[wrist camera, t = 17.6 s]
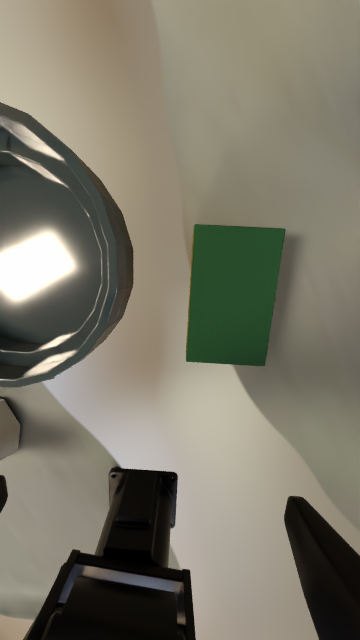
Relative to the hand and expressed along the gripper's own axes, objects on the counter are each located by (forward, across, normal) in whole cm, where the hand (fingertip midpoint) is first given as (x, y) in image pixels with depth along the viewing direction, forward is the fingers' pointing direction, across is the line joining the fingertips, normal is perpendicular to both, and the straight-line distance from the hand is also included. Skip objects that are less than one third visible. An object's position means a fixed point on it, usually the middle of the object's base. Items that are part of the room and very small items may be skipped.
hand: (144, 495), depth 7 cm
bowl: (+12, +11, -7) cm, 18 cm away
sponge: (+12, -4, -5) cm, 14 cm away
